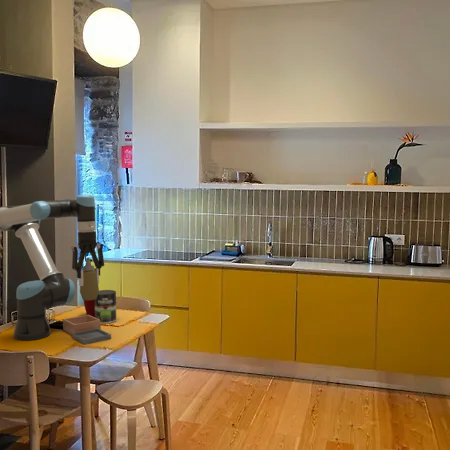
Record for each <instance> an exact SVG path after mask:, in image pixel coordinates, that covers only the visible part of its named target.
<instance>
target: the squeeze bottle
mask: <svg viewBox="0 0 450 450" xmlns="http://www.w3.org/2000/svg"><path fill="white" fill-rule="evenodd" d="M94 268H95V265H92V262H91V259H90V257H86V260H85V265H82V271H83V286H80V285H79V286H80V287H79V293H80V296H81V297H82V298H81V299H82V300H94V299H97V296H98V292H99V291H100V289H99V284H98V280H97V273H96V271H94Z"/></svg>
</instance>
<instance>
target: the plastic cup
mask: <svg viewBox="0 0 450 450" xmlns="http://www.w3.org/2000/svg"><path fill="white" fill-rule="evenodd" d="M82 300H83V299H82ZM83 305H84V310H85V315H90V316H92V317H95V299H94V300H83Z"/></svg>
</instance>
